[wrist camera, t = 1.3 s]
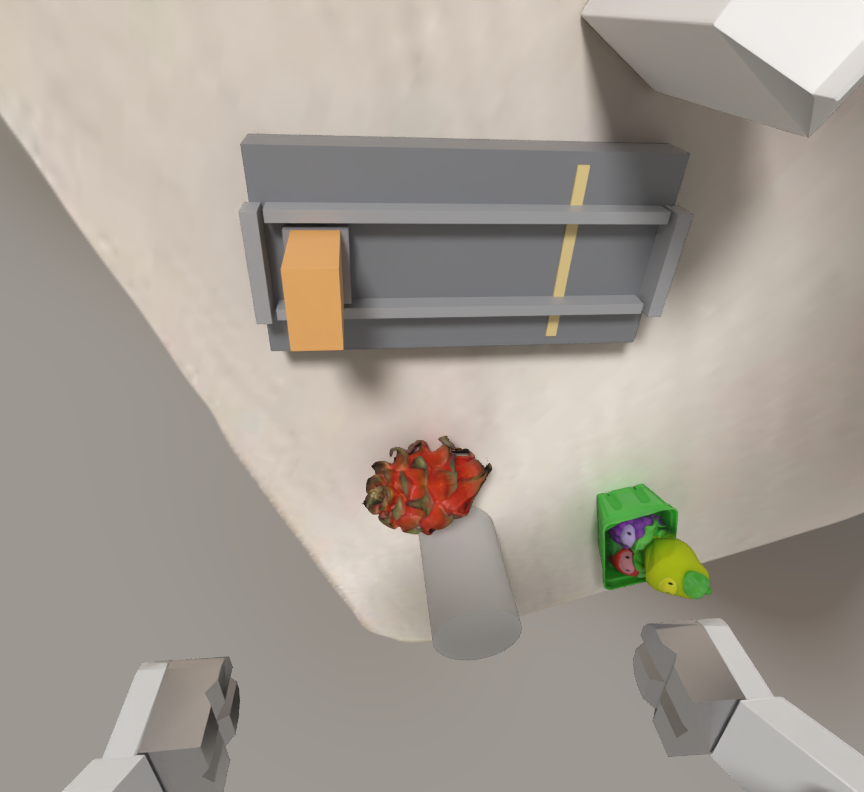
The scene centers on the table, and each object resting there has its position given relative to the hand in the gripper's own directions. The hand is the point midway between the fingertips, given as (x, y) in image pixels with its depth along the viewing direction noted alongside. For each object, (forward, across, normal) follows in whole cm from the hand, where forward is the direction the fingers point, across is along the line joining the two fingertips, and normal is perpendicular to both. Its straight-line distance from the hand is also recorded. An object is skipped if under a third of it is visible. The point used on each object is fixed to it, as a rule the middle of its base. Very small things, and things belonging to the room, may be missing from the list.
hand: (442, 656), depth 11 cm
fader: (+29, +5, +1) cm, 30 cm away
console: (+33, -5, +1) cm, 33 cm away
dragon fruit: (+35, -2, +22) cm, 41 cm away
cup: (+36, -6, +33) cm, 49 cm away
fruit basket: (+37, -25, +32) cm, 55 cm away
